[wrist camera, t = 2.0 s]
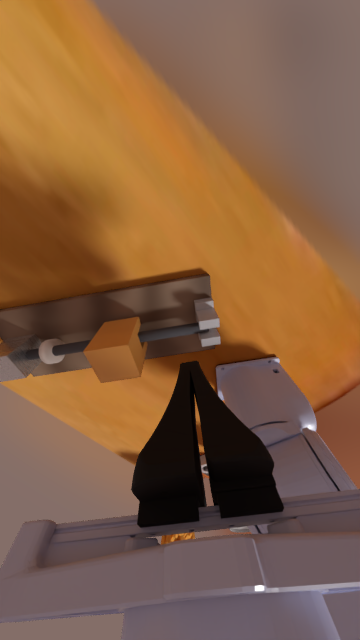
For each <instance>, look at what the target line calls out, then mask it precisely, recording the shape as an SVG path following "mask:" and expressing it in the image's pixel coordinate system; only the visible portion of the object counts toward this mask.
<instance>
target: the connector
mask: <svg viewBox="0 0 360 640" xmlns="http://www.w3.org/2000/svg"><path fill="white" fill-rule="evenodd" d="M41 344H42V343H41V341H40V340H39V338H38V337H37V336H36V334H32V335H26V336H20V337H14V338H8V339H6V340H5V341H3V342H2V343H0V382H2V381H9V380H15V379H22V378H26V377H27V376H28V375H29V374H30V373H31V372H32V371H33V370H34V369H35V368H36V367H37V366H38V365H39V364H40V363H41V362H42V360H41V359H34V360H28V359H27V358H26V352H27V351H28V350H31V349H37V348H39V347H40V345H41Z"/></svg>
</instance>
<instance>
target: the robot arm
mask: <svg viewBox="0 0 360 640" xmlns="http://www.w3.org/2000/svg"><path fill="white" fill-rule="evenodd" d="M216 378H217V391H218V395H217V394H216V392H215V391H214V389H213V388H212V387H211V385H210V384H209V382H208V380H207V379H206V377H205V375H204V374H203V372H202V370H201V368H200V365H199V362H198V361H192V362H186V363H181V364H180V371H179V375H178V379H177V383H176V386H175V389H174V392H173V394H172V397H171V400H170V402H169V404H168V407H167V409H166V411H165V413H164V415H163V417H162V419H161V421H160V422H159V424H158V426H157V428H156V429H155V431H154V433H153V434H152V436H151V438H150V439H149V441H148V442H147V443H146V445H145V446H144V448H143V449H142V451H141V452H140V454H139V456H138V459H137V462H136V466H135V470H134V475H133V481H132V489H131V490H132V492H133V494H134V495H135V496H136V497H137V499H138V500H139V501H140V504H139V511H138V515H131V516H122V517H114V518H105V519H96V520H88V521H79V522H71V523H62V524H56V523H55V522H54V521H51V520H37V521H30V522H25V523H23V525H22V527H21V529H20V531H19V533H18V535H17V536H16V538H15V540H14V543H13V544H12V546H11V548H10V550H9V552H8V554H7V556H6V558H5V560H4V562H3V564H2V566H1V568H0V623H4V622H22V621H33V620H44V619H55V618H68V617H80V616H92V615H104V614H117V613H124V619H123V628H122V636H121V640H360V489H357V487H356V486H355V485H354V483H353V482H352V480H351V479H350V477H349V476H348V475H347V473H346V472H345V470H344V469H343V468H342V466H341V465H340V463H339V462H338V461H337V459H336V458H335V457H334V455H333V454H332V453H331V451H330V450H329V448H328V447H327V446H326V444H325V443H324V441H323V440H322V439H321V437H320V436H319V435H318V434H317V432H316V418H315V414H314V412H313V409H312V407H311V405H310V403H309V401H308V400H307V398H306V397H305V395H304V394H303V393H302V391H301V390H300V389H299V388H298V386H297V385H296V384H295V383H294V381H293V380H292V379H291V378H290V376H289V375H288V374H287V373H286V371H285V370H284V369H283V368H282V366H281V365H280V364H279V358H278V357H271V358H265V359H258V360H251V361H245V362H238V363H231V364H225V365H218V366H217V367H216ZM194 394H195V398H196V402H197V407H198V411H199V416H200V423H201V430H202V437H203V444H204V452H205V458H206V463H207V469H208V474H209V480H210V487H211V493H212V498H213V503H214V506H208V507H206V506H207V504H206V498H205V490H204V483H203V476H202V468H201V461H200V453H199V446H198V438H197V431H196V418H195V398H194ZM222 400H224V401H225V403H224V402H223V401H222ZM225 404H226V405H225ZM245 526H247V527H248V529H249V530H250V531H251V533H252V534H234V535H223V536H213V537H204V538H196V539H187V540H179V541H174V542H170V543H167V544H162V545H161V544H159V543H158V540H157V539H156V538H146V537H155V536H164V535H173V534H182V533H191V532H200V531H209V530H218V529H227V528H236V527H245Z"/></svg>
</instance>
